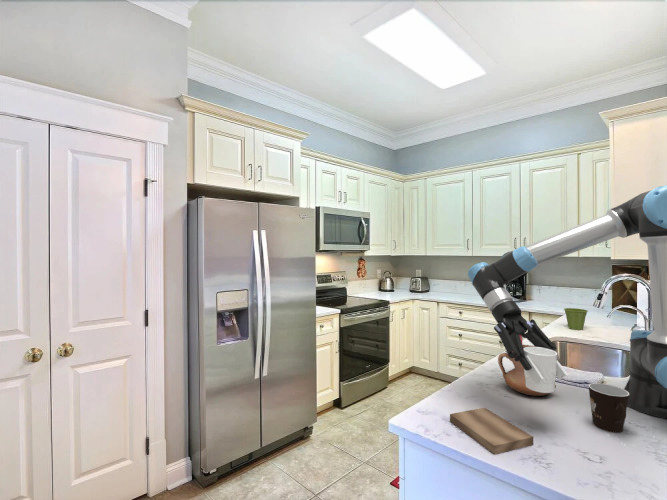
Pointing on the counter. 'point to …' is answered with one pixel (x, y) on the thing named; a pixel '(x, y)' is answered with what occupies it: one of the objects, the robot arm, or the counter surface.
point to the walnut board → (491, 430)
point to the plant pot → (575, 318)
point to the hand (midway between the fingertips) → (551, 379)
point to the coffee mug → (608, 406)
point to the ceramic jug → (517, 376)
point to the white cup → (542, 369)
